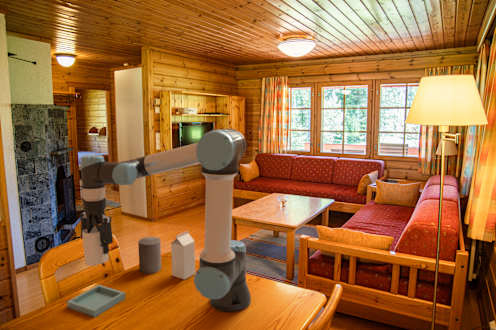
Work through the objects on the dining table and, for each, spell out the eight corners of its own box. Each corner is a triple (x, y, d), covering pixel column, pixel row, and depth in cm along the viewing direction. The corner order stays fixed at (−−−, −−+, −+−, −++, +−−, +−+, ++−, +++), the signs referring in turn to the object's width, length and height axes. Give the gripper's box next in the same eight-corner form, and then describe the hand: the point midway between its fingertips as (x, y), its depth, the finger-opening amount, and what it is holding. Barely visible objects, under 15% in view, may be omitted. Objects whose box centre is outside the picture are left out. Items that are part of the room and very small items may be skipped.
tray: (125, 298, 133) (124, 292, 132) (94, 317, 120) (94, 311, 120) (99, 290, 139) (98, 284, 138) (67, 307, 126) (67, 301, 126)
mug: (97, 267, 122) (95, 234, 121) (80, 265, 124) (77, 232, 122) (113, 255, 132) (111, 225, 130) (97, 254, 133) (95, 224, 132)
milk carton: (195, 273, 153) (194, 232, 150) (184, 280, 147) (183, 237, 145) (183, 269, 157) (182, 229, 154) (172, 276, 151) (170, 234, 148)
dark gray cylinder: (134, 272, 155) (133, 240, 152) (147, 263, 164) (146, 232, 162) (154, 275, 152) (152, 242, 150) (165, 266, 161) (164, 235, 159)
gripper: (122, 199, 123) (125, 261, 127) (85, 193, 132) (88, 251, 135) (105, 204, 117) (108, 269, 120) (66, 197, 125) (70, 258, 129)
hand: (97, 259), depth 128 cm, fingers closed on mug, 6 cm apart
